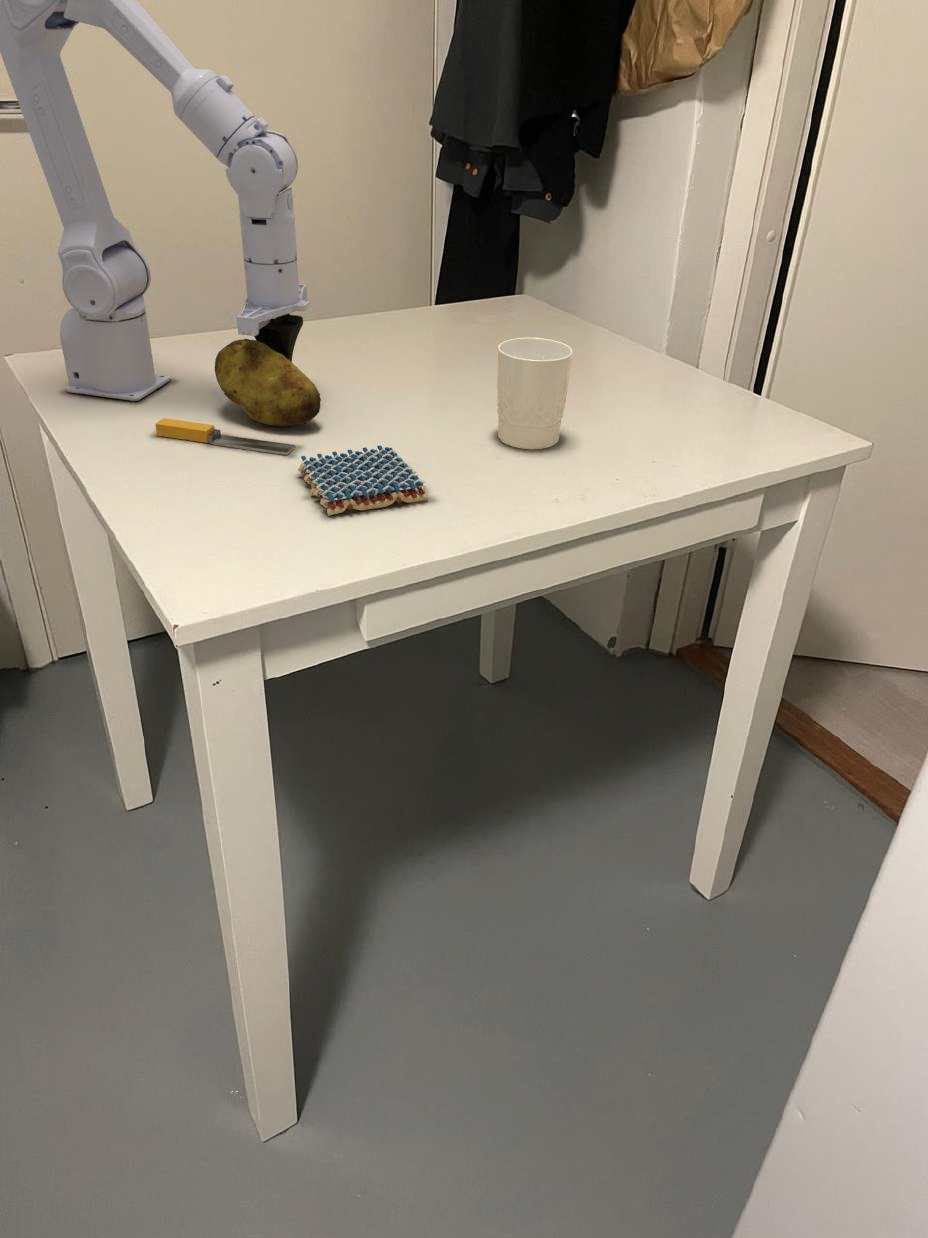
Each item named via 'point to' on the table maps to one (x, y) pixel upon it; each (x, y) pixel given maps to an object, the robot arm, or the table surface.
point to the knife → (216, 436)
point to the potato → (266, 384)
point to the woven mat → (362, 480)
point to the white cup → (532, 391)
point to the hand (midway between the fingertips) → (279, 380)
